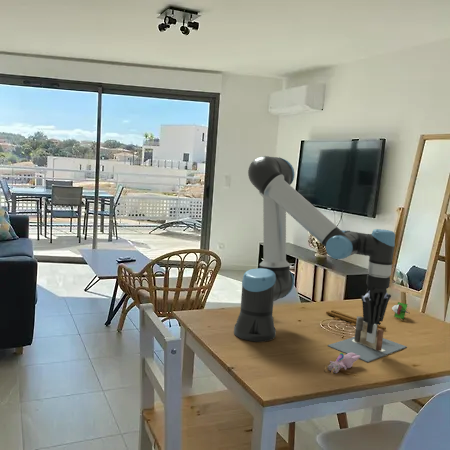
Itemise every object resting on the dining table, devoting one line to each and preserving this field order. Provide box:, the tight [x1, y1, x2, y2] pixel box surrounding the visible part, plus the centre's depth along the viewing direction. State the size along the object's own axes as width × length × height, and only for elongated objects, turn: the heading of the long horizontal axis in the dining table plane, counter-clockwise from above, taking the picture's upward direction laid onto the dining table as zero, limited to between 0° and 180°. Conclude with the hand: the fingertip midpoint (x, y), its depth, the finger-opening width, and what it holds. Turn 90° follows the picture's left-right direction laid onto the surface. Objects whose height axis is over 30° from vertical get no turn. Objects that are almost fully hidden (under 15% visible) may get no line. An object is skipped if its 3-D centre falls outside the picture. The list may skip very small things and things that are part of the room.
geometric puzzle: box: [391, 301, 409, 320], centre depth 205 cm, size 7×7×8 cm
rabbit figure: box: [324, 352, 361, 375], centre depth 147 cm, size 6×6×15 cm
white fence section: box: [354, 316, 368, 342], centre depth 173 cm, size 12×2×9 cm, turn 130°
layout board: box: [327, 336, 408, 363], centre depth 167 cm, size 25×16×1 cm, turn 130°
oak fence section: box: [360, 324, 385, 351], centre depth 165 cm, size 9×2×7 cm, turn 30°
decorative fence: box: [325, 309, 387, 331], centre depth 195 cm, size 25×2×10 cm
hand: (370, 341), depth 163 cm, fingers closed
